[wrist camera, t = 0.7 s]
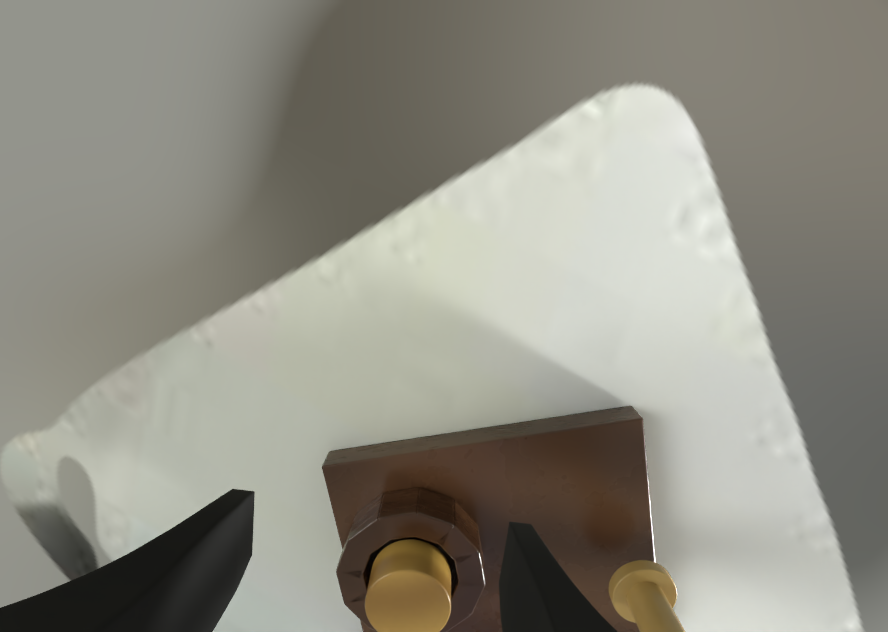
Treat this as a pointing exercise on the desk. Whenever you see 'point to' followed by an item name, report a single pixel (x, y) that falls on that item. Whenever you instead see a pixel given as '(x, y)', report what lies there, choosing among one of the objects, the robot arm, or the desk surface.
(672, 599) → the lamp
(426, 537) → the lamp base
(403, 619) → the lamp switch
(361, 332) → the desk surface
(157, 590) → the robot arm
